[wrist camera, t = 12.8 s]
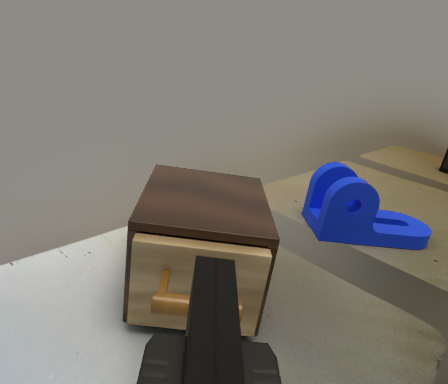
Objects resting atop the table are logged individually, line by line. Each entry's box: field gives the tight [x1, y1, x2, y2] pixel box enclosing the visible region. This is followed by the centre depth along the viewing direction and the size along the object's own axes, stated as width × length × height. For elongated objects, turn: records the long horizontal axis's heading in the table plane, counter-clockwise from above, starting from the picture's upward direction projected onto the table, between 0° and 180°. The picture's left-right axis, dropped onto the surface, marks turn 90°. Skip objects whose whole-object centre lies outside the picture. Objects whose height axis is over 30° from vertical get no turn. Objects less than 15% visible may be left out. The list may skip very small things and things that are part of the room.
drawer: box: [127, 232, 272, 337], centre depth 32 cm, size 17×10×8 cm, turn 1°
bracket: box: [302, 162, 431, 250], centre depth 53 cm, size 18×8×9 cm, turn 94°
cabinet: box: [123, 165, 280, 335], centre depth 36 cm, size 14×12×10 cm
